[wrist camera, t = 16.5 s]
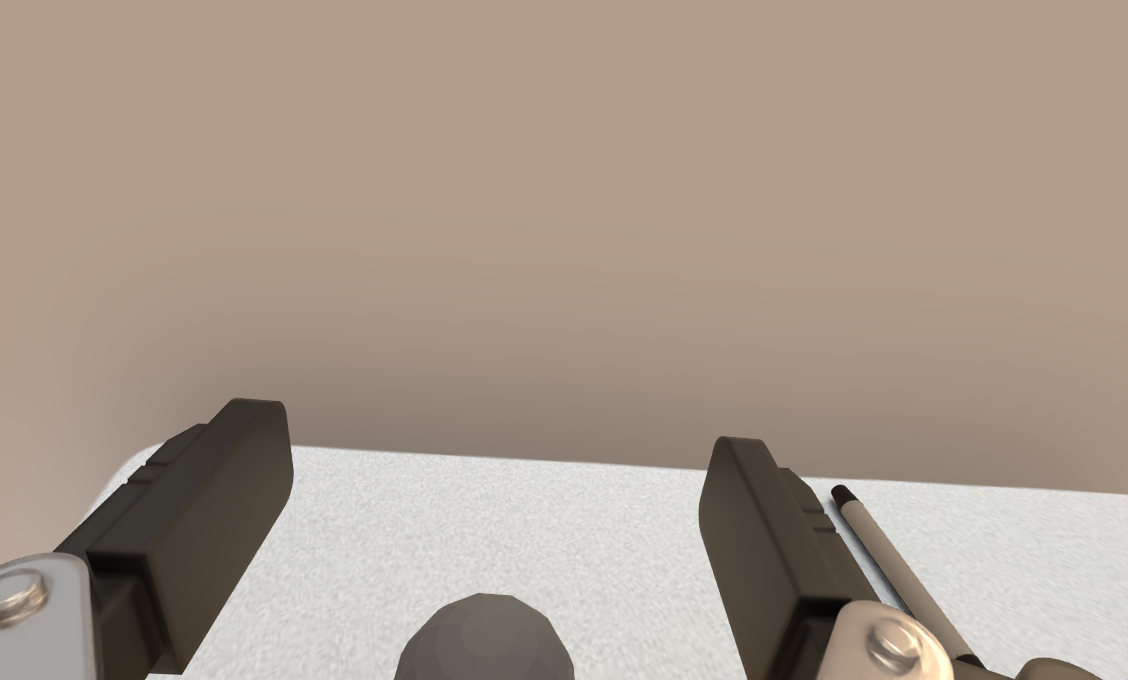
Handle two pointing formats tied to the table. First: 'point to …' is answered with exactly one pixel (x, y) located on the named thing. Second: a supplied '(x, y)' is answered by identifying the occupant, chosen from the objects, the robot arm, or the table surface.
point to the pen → (902, 577)
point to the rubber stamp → (486, 644)
